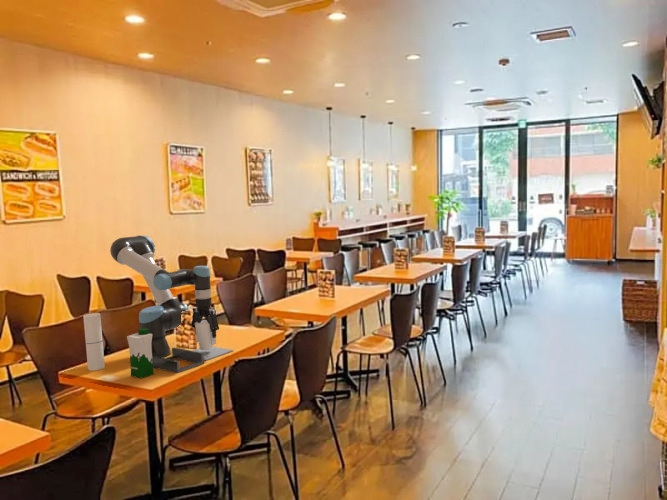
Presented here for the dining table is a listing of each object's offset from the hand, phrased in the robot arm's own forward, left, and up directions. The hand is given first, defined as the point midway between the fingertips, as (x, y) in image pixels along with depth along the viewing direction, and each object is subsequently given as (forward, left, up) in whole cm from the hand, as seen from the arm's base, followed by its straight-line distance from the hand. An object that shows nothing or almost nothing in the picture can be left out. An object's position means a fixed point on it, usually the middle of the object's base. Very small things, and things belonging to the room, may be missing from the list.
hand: (206, 342), depth 279 cm
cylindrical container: (-29, -41, -6) cm, 50 cm away
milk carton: (-1, -37, -6) cm, 38 cm away
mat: (0, 0, -5) cm, 5 cm away
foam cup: (0, 0, -3) cm, 3 cm away
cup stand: (+1, -20, -5) cm, 21 cm away
